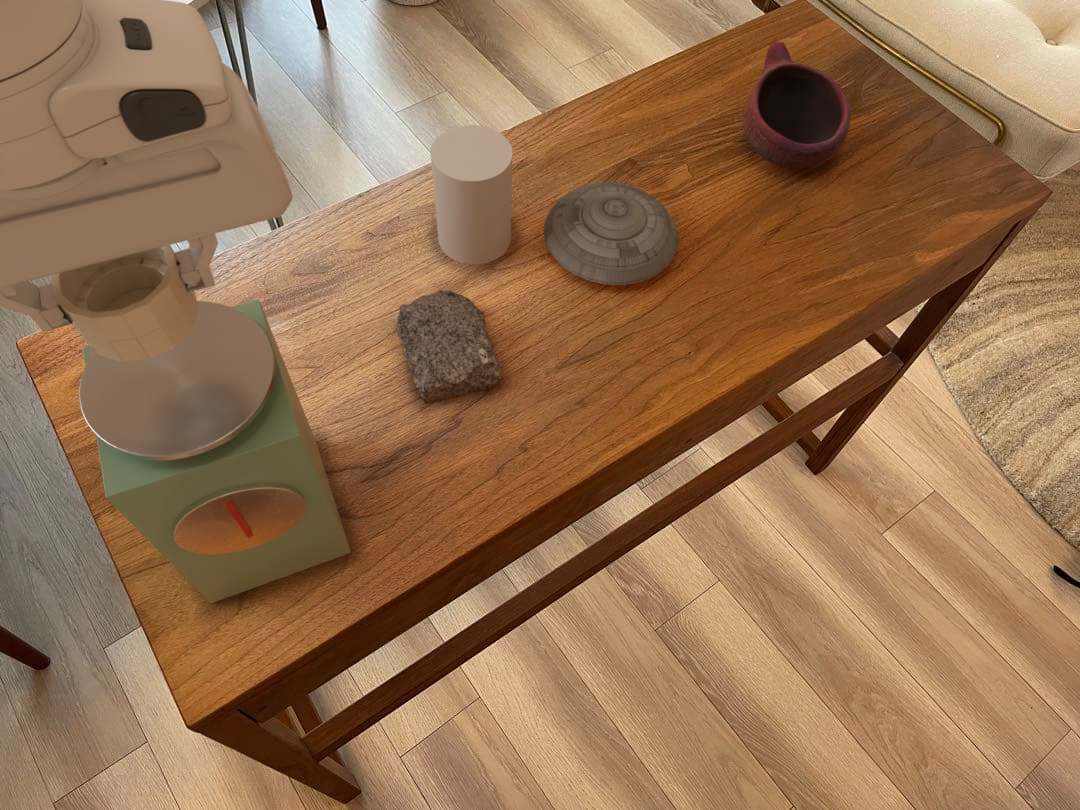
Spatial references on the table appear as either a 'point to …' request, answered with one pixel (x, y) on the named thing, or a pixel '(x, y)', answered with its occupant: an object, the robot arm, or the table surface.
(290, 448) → the scale
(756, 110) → the bowl
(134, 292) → the small bowl
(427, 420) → the table surface
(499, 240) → the taupe round pillar
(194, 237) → the robot arm
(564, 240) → the flying saucer
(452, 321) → the stone
